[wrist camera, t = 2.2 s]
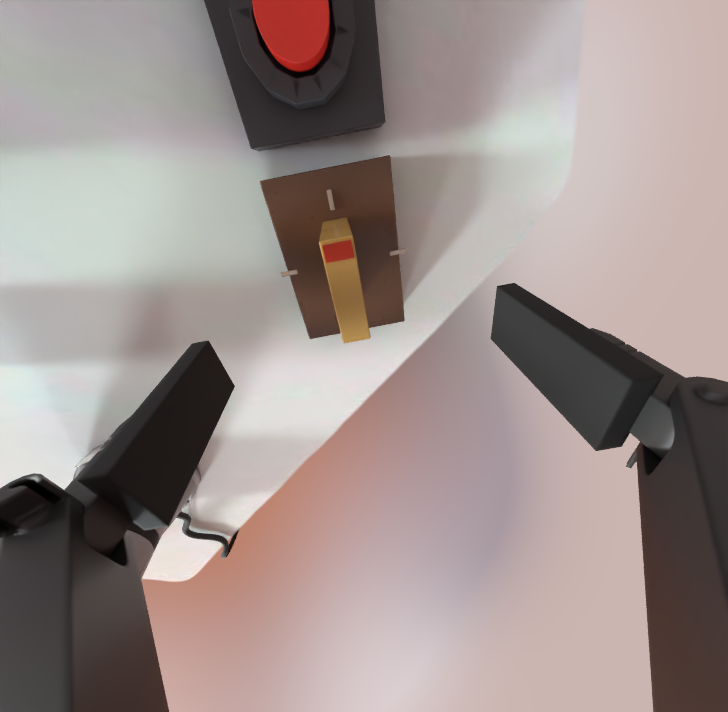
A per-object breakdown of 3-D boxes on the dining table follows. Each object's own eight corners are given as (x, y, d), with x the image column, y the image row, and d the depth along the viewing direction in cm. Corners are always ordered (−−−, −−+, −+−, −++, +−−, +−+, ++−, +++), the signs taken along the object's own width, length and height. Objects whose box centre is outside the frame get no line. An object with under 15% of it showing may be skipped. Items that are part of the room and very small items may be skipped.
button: (336, 66, 17) (336, 55, 16) (273, 78, 17) (268, 69, 16) (320, -38, 15) (318, -61, 13) (248, -23, 15) (239, -45, 13)
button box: (380, 126, 22) (389, 117, 18) (257, 151, 22) (244, 147, 18) (359, -91, 16) (366, -161, 13) (194, -57, 16) (158, -117, 13)
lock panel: (404, 308, 31) (410, 320, 28) (306, 327, 31) (304, 341, 28) (391, 155, 23) (398, 153, 20) (260, 181, 23) (250, 182, 20)
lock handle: (361, 297, 26) (371, 340, 19) (340, 301, 26) (343, 345, 19) (346, 217, 22) (353, 235, 15) (322, 221, 22) (318, 242, 15)
